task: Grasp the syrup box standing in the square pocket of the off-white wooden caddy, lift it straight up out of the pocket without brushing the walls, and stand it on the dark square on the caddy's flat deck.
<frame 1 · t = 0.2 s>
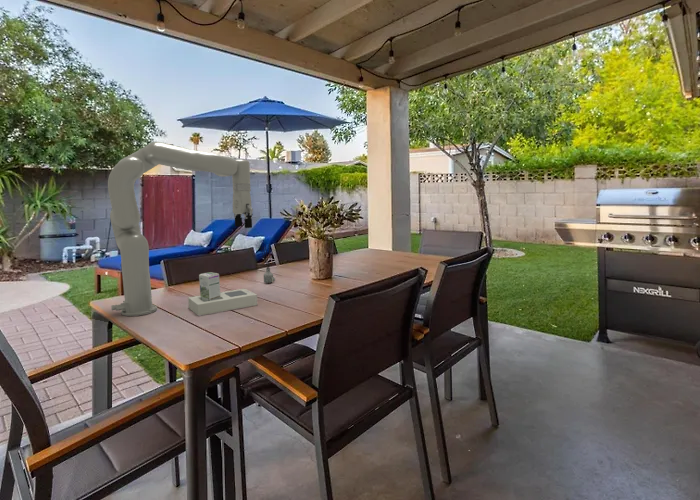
hand: (243, 227, 185), 31 cm above the table, tool pointing down, fingers open, 9 cm apart
caddy: (211, 308, 167), on the table
syrup box: (211, 309, 167), resting in caddy
reed diffuser: (267, 282, 212), on the table
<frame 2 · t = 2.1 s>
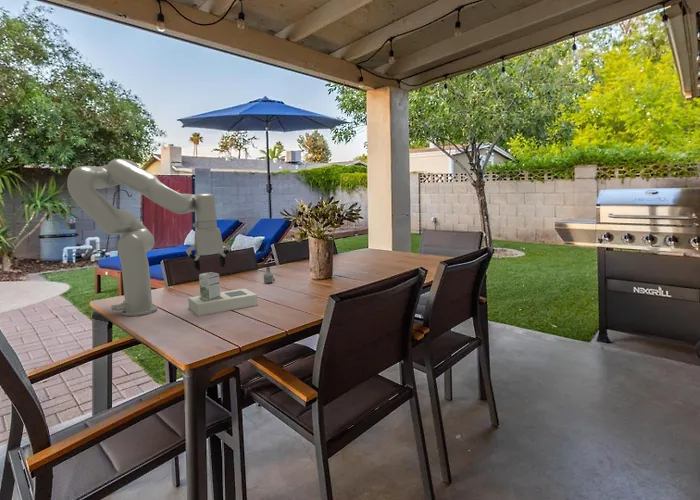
hand: (210, 268, 165), 17 cm above the table, tool pointing down, fingers open, 9 cm apart
nothing on the table moved.
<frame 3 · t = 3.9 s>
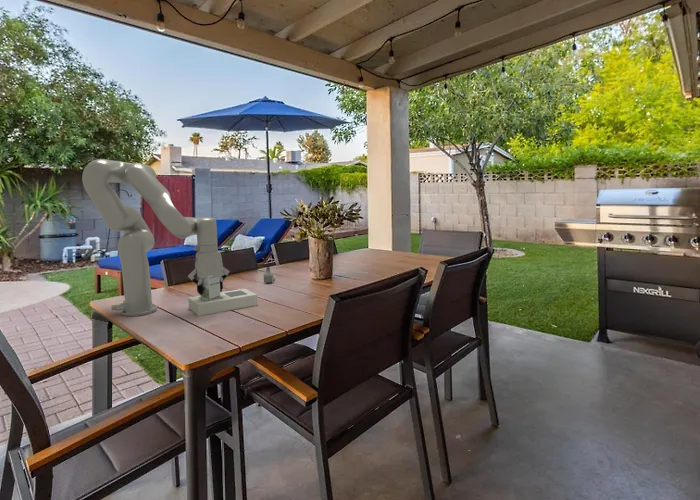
hand: (210, 292, 166), 7 cm above the table, tool pointing down, fingers closed on syrup box, 7 cm apart
syrup box: (211, 309, 167), resting in caddy, touching gripper
everything else where it was.
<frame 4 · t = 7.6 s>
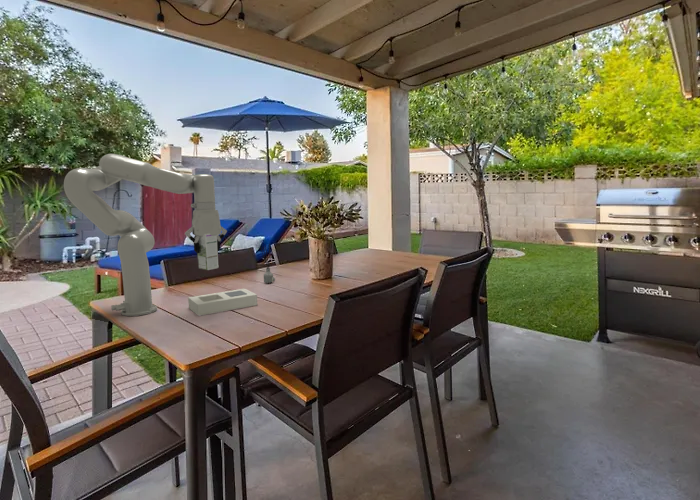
hand: (207, 251, 164), 23 cm above the table, tool pointing down, fingers closed on syrup box, 7 cm apart
syrup box: (208, 268, 165), point 16 cm above the table, touching gripper
everything else where it was.
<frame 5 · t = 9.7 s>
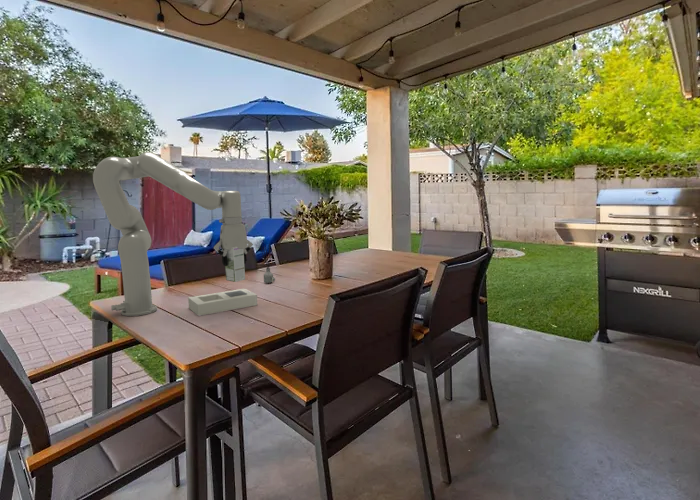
hand: (234, 264, 171), 17 cm above the table, tool pointing down, fingers closed on syrup box, 7 cm apart
syrup box: (235, 280, 172), point 10 cm above the table, touching gripper
everything else where it was.
when the fingers open (13 cm above the table, at t = 11.4 s): syrup box drops 2 cm, resting on caddy.
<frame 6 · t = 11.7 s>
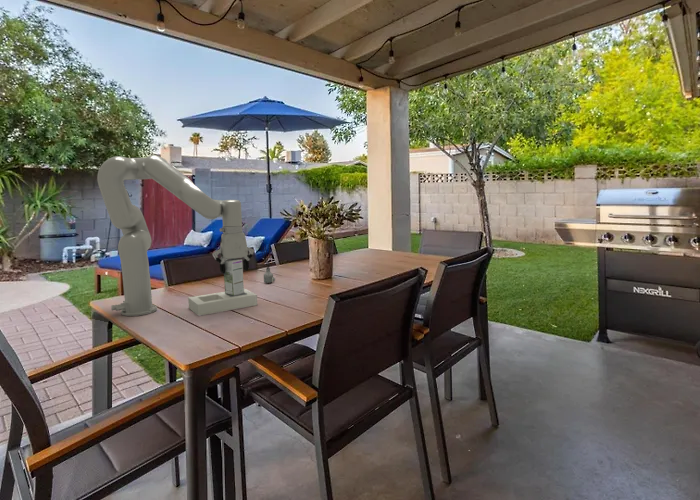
hand: (234, 271, 171), 14 cm above the table, tool pointing down, fingers open, 9 cm apart
syrup box: (234, 294, 172), point 5 cm above the table, touching caddy
everything else where it was.
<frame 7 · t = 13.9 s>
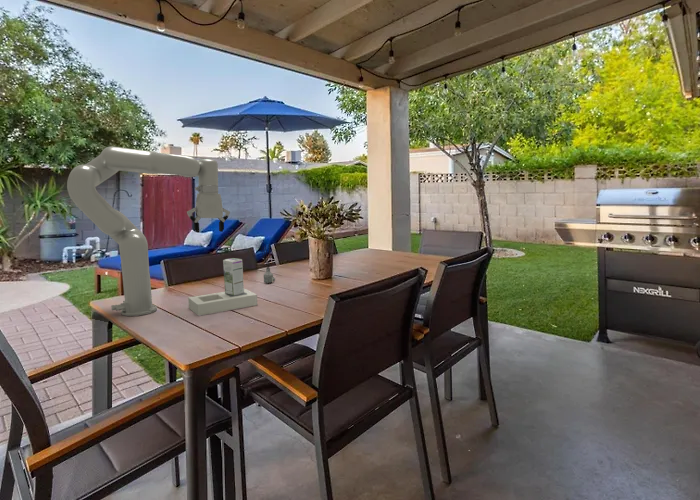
hand: (209, 231, 172), 30 cm above the table, tool pointing down, fingers open, 9 cm apart
nothing on the table moved.
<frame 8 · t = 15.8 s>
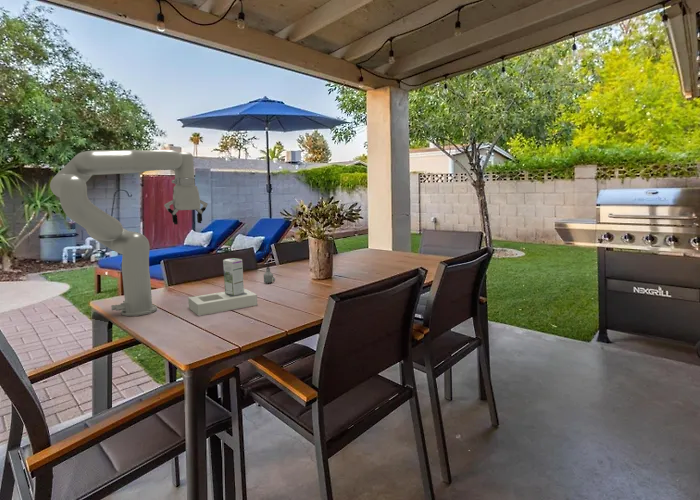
hand: (187, 223, 176), 33 cm above the table, tool pointing down, fingers open, 9 cm apart
nothing on the table moved.
at the end: syrup box 0.5 cm from the target spot on the caddy, point 4.5 cm above the caddy's base; syrup box tilted 0°; the gripper is holding nothing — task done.
